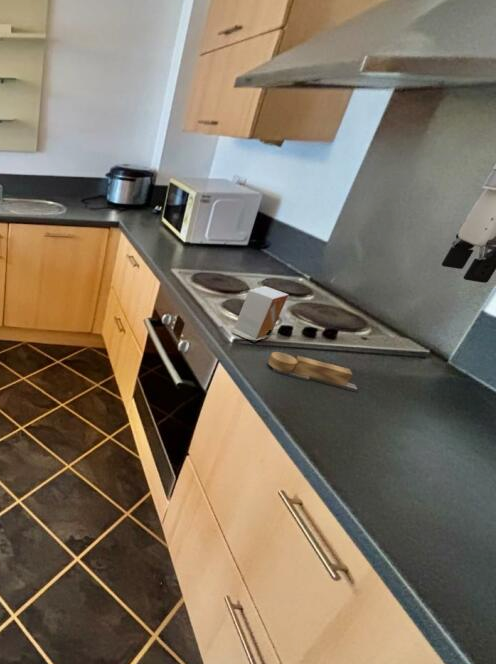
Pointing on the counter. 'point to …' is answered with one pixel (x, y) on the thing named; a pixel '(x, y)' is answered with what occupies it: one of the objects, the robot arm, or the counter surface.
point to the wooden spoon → (310, 368)
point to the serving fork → (303, 377)
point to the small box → (260, 311)
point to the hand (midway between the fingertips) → (462, 273)
